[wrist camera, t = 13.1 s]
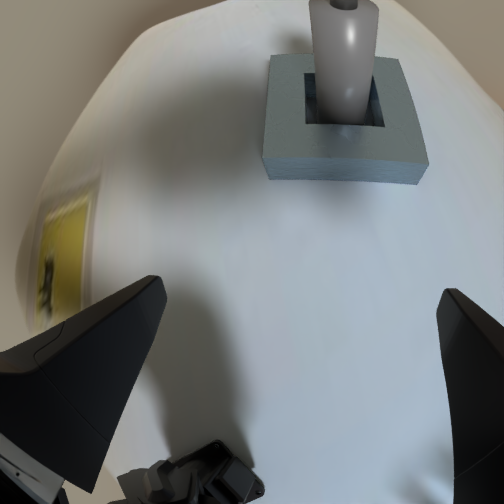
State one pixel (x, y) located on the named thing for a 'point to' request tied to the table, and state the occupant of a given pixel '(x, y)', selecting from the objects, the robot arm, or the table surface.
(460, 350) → the robot arm
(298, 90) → the grey square frame
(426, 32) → the table surface
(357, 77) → the plug
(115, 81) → the table surface
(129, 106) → the table surface
